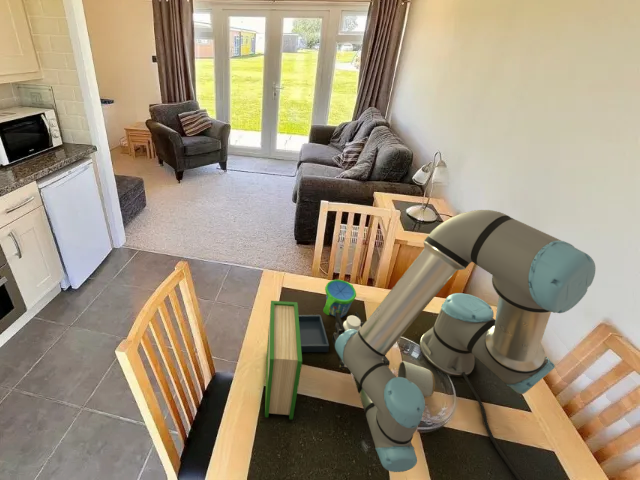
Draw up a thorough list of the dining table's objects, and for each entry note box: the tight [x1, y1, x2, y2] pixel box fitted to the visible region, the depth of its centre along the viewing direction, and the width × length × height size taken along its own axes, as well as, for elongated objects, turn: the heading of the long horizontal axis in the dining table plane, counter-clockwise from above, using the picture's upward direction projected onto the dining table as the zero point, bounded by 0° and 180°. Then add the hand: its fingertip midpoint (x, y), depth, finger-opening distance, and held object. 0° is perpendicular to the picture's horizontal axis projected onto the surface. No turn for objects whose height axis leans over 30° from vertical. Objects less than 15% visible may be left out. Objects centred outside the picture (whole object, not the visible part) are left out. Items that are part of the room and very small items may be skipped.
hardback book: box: [264, 300, 303, 420], centre depth 86 cm, size 18×7×24 cm, turn 177°
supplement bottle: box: [342, 314, 362, 332], centre depth 95 cm, size 5×5×10 cm
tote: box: [298, 314, 330, 353], centre depth 106 cm, size 12×12×3 cm
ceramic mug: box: [397, 360, 436, 398], centre depth 92 cm, size 11×8×8 cm
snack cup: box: [322, 279, 357, 318], centre depth 114 cm, size 16×10×10 cm
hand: (346, 315), depth 99 cm, fingers closed on supplement bottle, 5 cm apart
